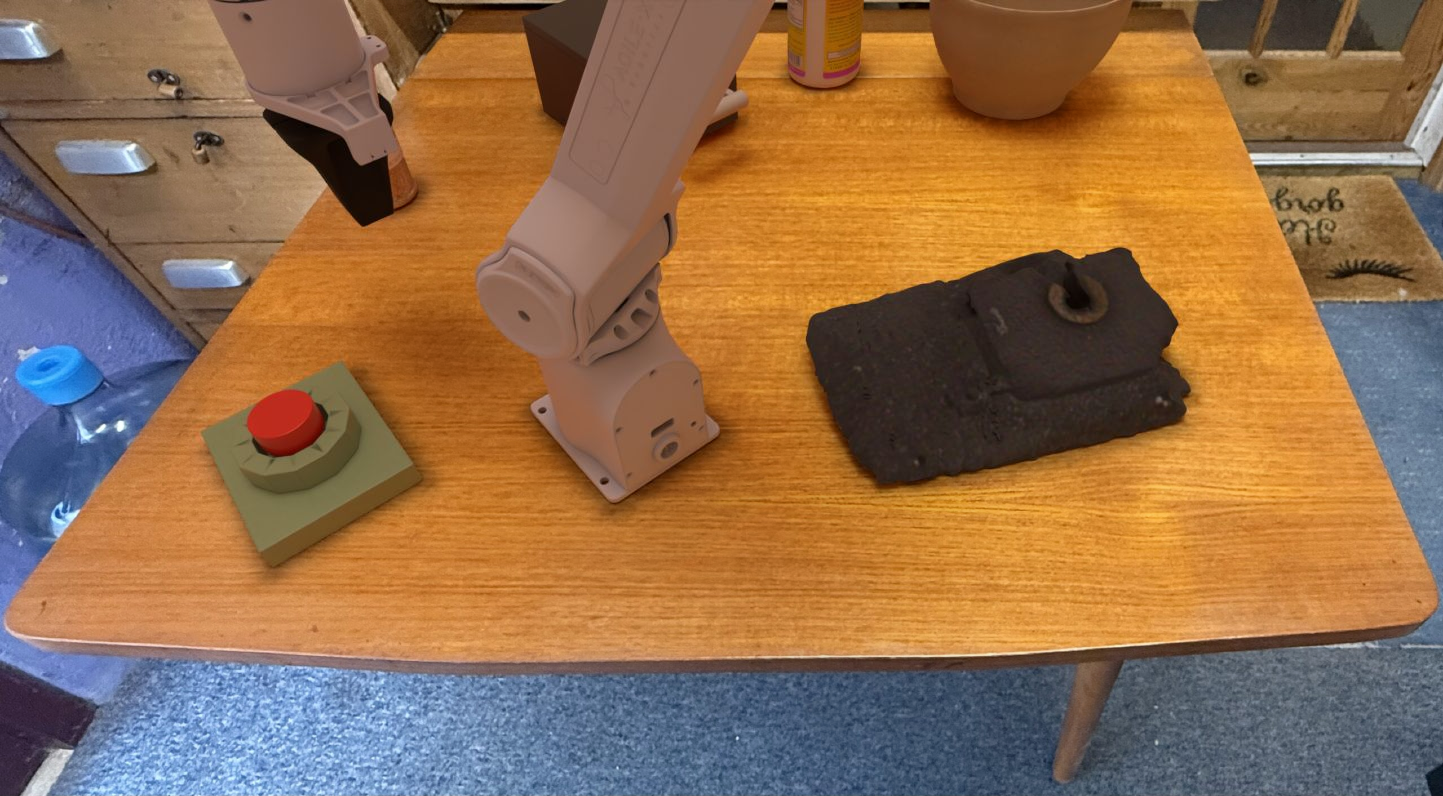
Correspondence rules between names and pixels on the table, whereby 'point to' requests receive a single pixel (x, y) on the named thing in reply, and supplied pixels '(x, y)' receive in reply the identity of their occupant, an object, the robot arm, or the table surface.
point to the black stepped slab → (999, 365)
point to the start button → (285, 422)
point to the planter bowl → (1022, 50)
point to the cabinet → (562, 50)
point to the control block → (312, 469)
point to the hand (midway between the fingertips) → (373, 215)
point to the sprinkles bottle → (400, 176)
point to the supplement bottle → (824, 41)
